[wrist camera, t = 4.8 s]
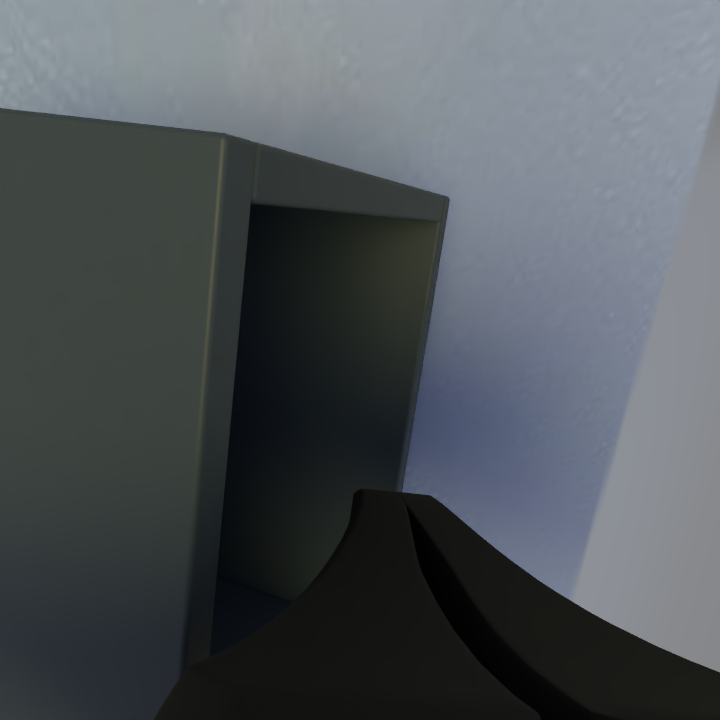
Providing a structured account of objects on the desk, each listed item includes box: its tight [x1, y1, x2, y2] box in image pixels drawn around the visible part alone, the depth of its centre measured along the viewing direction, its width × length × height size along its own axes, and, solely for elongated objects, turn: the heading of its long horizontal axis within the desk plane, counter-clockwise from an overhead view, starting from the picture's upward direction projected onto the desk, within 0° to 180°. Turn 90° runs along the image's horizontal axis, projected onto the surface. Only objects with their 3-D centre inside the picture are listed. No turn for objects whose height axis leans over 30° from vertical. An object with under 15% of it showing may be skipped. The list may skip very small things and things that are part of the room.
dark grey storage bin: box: [0, 108, 450, 720], centre depth 13 cm, size 8×12×10 cm, turn 173°
